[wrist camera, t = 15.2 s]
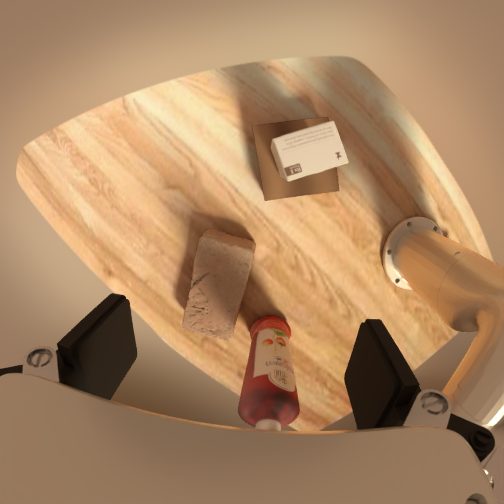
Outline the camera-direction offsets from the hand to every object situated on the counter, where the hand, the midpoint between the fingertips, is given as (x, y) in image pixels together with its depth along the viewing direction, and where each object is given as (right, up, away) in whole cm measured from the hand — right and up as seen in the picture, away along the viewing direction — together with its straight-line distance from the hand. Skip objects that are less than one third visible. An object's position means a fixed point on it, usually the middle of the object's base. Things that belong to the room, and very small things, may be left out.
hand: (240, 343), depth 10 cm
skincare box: (+6, +16, +24) cm, 29 cm away
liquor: (+4, -10, +37) cm, 38 cm away
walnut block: (+6, +17, +29) cm, 34 cm away
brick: (-5, -1, +35) cm, 36 cm away
